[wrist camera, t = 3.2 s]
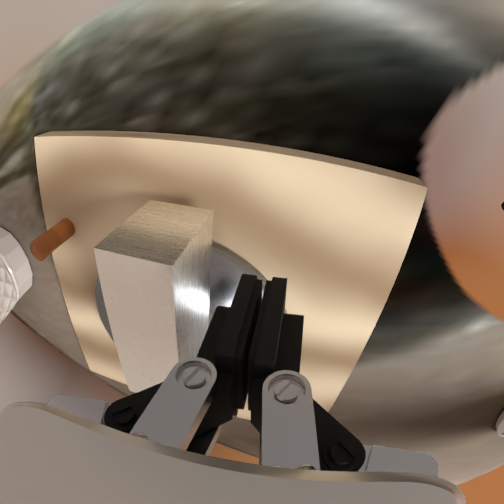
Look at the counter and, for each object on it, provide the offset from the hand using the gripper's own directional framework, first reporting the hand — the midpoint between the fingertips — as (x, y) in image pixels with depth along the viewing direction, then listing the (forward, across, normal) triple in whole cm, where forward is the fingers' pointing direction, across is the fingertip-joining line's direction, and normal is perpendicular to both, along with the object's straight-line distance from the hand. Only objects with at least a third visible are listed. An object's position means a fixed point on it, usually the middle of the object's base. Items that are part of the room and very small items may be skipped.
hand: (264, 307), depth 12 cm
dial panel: (+5, +5, +5) cm, 9 cm away
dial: (+4, +5, +4) cm, 7 cm away
